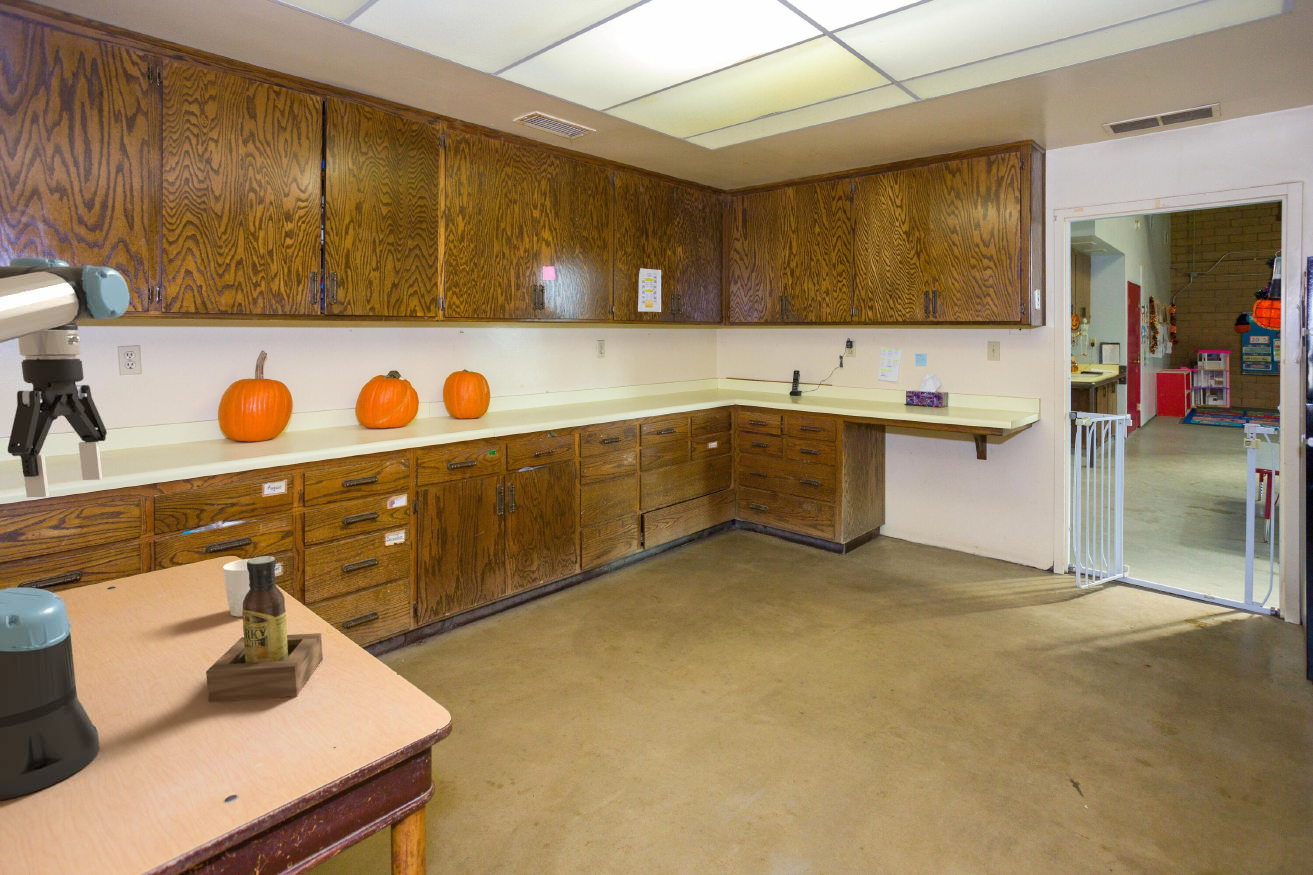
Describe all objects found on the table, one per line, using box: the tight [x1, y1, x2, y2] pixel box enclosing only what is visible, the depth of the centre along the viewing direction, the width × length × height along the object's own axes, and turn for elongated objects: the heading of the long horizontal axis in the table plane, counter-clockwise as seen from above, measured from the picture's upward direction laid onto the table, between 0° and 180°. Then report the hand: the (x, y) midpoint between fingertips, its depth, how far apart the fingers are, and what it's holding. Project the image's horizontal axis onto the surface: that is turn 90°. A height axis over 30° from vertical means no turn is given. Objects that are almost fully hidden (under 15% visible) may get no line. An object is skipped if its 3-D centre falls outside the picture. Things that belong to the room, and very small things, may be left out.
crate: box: [205, 632, 324, 703], centre depth 121 cm, size 13×13×5 cm
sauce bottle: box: [242, 555, 288, 663], centre depth 120 cm, size 6×6×20 cm
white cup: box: [222, 558, 251, 618], centre depth 151 cm, size 8×8×10 cm
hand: (66, 487), depth 120 cm, fingers open, 13 cm apart
